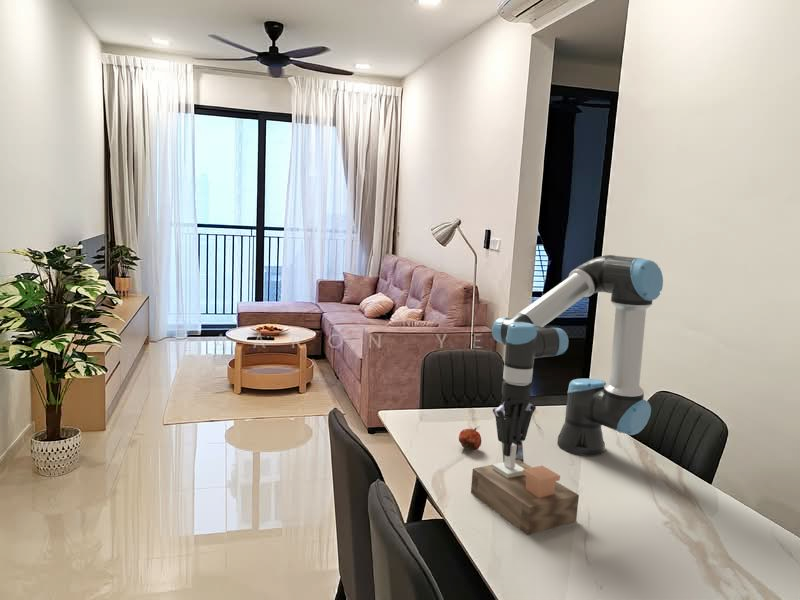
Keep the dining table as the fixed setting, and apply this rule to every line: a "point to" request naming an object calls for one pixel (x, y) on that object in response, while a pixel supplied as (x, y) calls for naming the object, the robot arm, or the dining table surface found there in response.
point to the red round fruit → (470, 439)
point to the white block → (508, 470)
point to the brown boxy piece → (523, 500)
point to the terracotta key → (540, 481)
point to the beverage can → (519, 454)
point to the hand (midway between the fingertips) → (509, 466)
